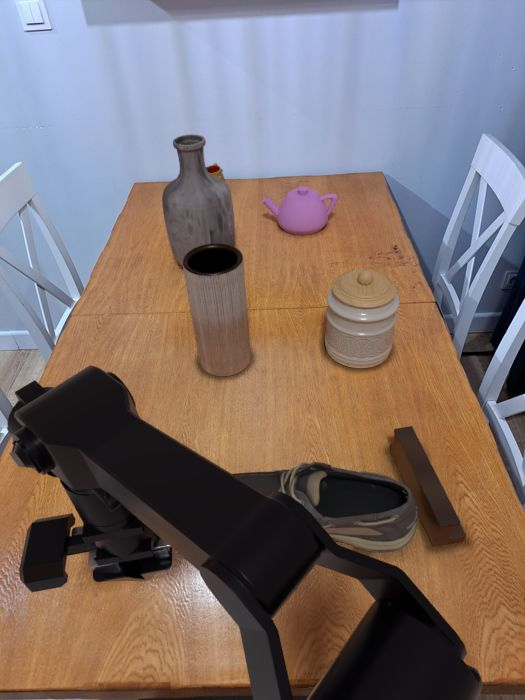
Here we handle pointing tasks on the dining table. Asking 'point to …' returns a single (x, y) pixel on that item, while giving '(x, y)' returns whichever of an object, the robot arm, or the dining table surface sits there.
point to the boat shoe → (347, 503)
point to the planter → (218, 307)
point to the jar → (361, 318)
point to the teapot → (302, 210)
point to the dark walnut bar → (426, 489)
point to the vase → (196, 202)
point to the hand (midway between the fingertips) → (147, 575)
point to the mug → (216, 171)
